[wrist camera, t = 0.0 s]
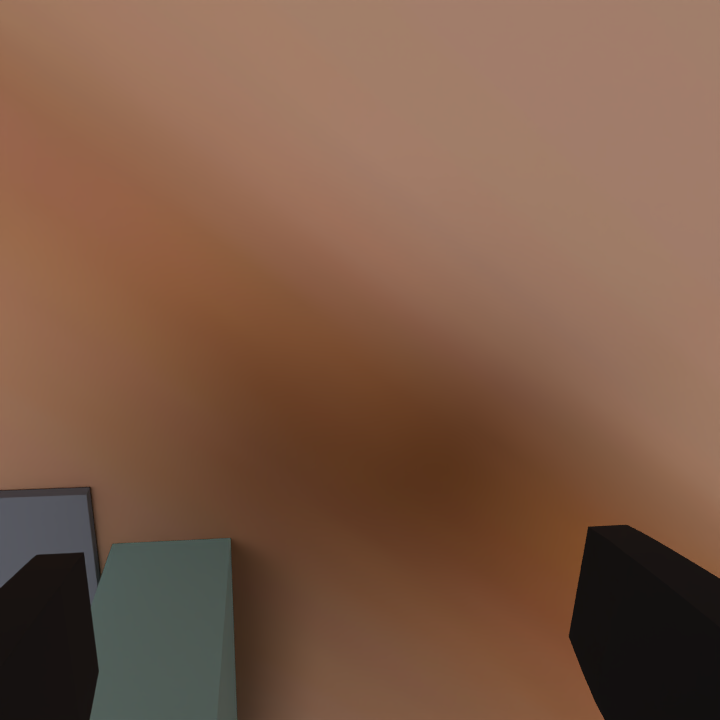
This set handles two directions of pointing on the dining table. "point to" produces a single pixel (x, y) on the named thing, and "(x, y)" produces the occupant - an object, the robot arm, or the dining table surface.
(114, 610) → the slab
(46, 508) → the mat
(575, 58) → the dining table surface
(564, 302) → the dining table surface
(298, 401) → the dining table surface
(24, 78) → the dining table surface
